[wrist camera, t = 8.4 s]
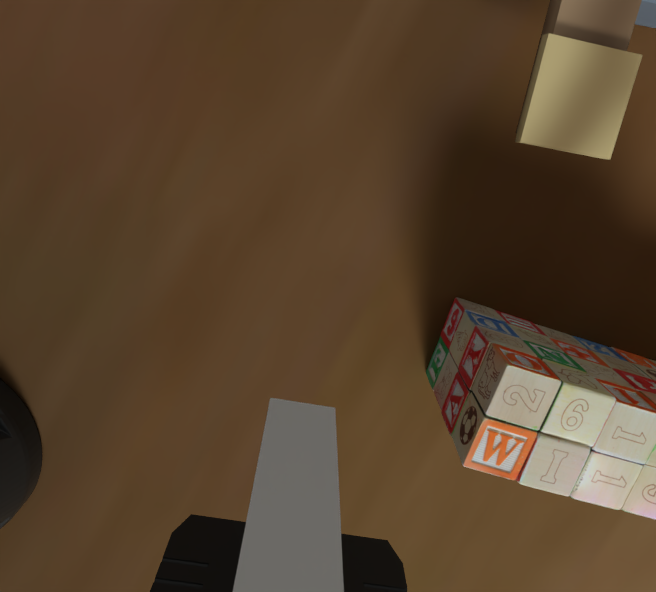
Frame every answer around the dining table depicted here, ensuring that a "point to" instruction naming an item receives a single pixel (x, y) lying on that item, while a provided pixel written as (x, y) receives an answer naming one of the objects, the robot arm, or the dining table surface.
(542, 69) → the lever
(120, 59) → the dining table surface
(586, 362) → the stack of blocks
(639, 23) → the tray
